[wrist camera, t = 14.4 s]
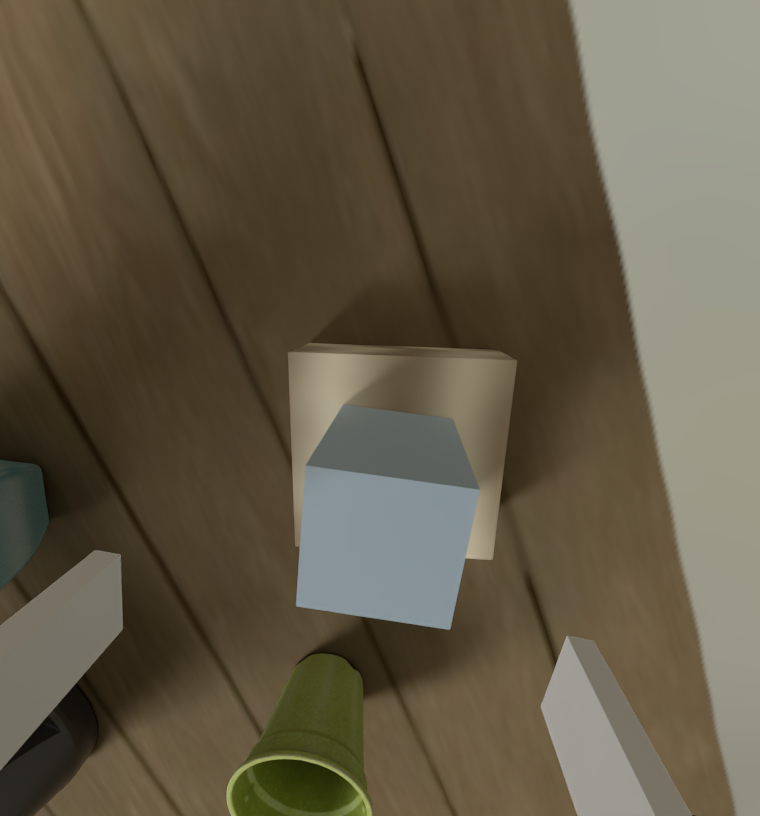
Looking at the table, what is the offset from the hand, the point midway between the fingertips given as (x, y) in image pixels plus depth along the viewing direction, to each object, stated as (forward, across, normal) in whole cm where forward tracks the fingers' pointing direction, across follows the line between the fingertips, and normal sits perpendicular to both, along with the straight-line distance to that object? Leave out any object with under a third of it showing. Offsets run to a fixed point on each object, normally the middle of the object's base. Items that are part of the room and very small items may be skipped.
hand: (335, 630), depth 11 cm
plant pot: (+16, -1, -22) cm, 27 cm away
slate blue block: (+11, +1, +1) cm, 11 cm away
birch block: (+16, +1, +1) cm, 16 cm away
